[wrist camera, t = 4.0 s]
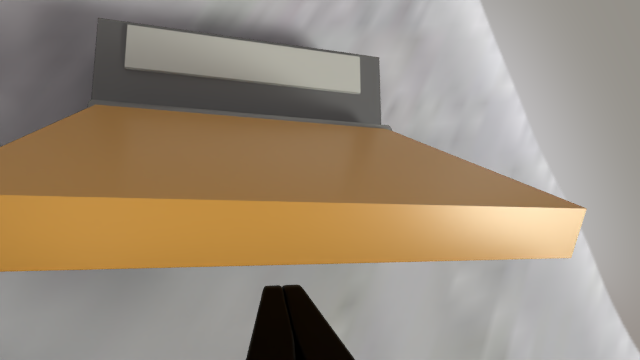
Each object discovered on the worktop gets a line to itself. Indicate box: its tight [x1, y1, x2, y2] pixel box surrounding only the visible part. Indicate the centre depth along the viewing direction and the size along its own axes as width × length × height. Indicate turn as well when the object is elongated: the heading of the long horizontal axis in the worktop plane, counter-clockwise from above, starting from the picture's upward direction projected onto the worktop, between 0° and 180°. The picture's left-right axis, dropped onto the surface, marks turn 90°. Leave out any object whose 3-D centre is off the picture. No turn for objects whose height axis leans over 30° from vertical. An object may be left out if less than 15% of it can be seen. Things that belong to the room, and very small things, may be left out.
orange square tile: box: [0, 100, 586, 272], centre depth 10 cm, size 1×10×10 cm, turn 90°
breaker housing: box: [91, 18, 381, 125], centre depth 17 cm, size 8×11×3 cm
